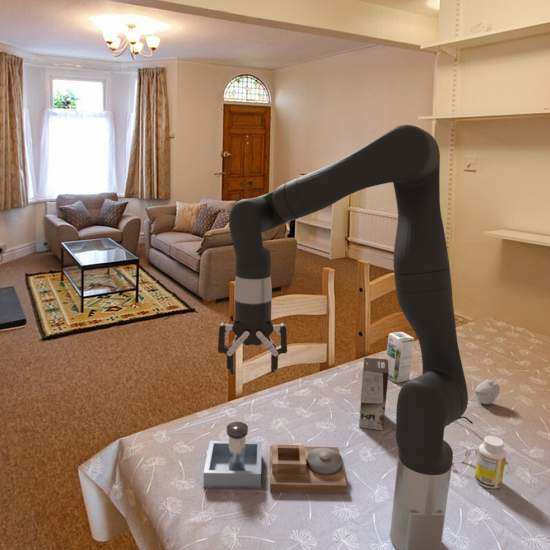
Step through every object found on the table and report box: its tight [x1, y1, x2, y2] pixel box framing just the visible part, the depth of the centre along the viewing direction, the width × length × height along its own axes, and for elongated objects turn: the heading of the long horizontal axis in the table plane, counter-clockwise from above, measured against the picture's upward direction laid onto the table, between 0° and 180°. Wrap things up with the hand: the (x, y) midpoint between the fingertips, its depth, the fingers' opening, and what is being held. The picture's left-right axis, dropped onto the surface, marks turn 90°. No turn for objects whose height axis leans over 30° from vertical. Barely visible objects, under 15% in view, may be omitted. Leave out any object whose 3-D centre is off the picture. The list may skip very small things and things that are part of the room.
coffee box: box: [358, 357, 389, 431], centre depth 136 cm, size 9×6×16 cm
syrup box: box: [385, 331, 415, 384], centre depth 162 cm, size 6×6×14 cm
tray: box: [203, 440, 263, 490], centre depth 115 cm, size 12×12×4 cm
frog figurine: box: [474, 378, 501, 405], centre depth 149 cm, size 6×7×7 cm
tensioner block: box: [269, 444, 348, 495], centre depth 115 cm, size 14×16×5 cm
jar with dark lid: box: [226, 421, 249, 471], centre depth 114 cm, size 5×5×10 cm
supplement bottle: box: [474, 435, 507, 490], centre depth 113 cm, size 6×6×10 cm
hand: (252, 370), depth 109 cm, fingers open, 8 cm apart
